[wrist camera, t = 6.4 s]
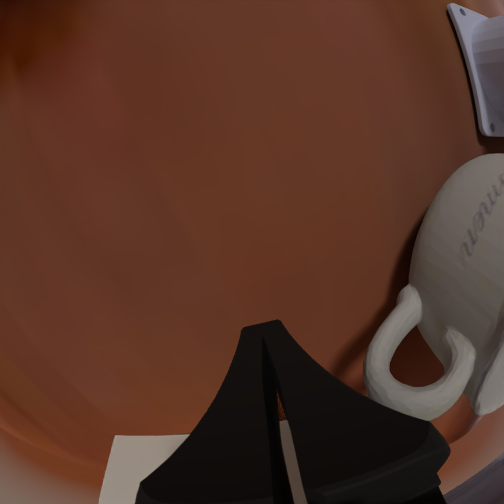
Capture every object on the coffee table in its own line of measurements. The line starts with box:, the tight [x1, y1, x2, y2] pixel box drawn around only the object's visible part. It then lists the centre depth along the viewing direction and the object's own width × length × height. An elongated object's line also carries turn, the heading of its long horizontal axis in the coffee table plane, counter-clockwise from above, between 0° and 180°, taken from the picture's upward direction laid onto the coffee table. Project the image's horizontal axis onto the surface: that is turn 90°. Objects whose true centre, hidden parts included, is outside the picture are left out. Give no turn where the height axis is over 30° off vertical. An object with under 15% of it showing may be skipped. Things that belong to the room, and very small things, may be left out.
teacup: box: [363, 153, 504, 421], centre depth 9 cm, size 14×11×8 cm
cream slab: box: [98, 420, 307, 504], centre depth 12 cm, size 16×2×9 cm, turn 102°
